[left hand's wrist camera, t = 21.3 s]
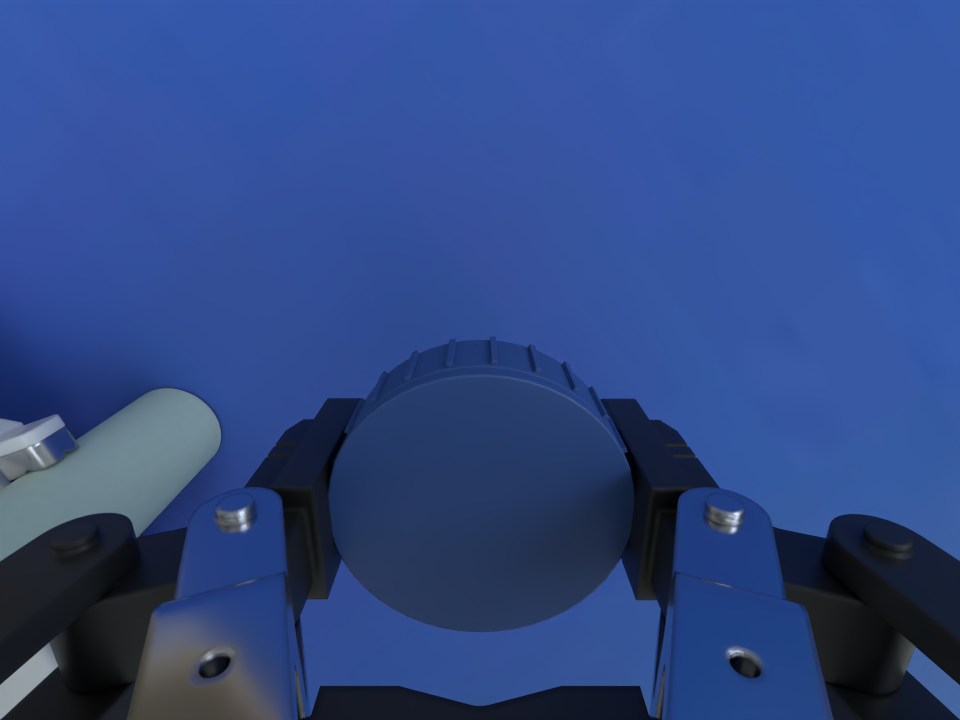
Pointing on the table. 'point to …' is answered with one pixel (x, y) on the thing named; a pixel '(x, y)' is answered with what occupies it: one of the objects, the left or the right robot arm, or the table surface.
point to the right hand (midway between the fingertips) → (102, 501)
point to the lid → (481, 488)
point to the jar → (116, 469)
